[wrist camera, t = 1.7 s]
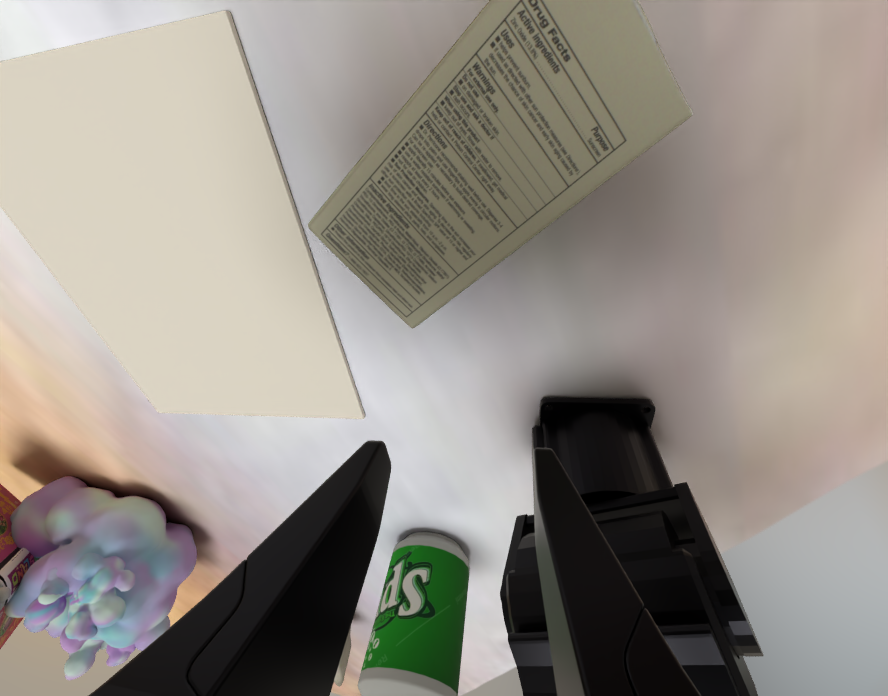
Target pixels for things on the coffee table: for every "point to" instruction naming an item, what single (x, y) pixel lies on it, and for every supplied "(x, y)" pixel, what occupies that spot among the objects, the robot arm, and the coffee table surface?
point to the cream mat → (172, 220)
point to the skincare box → (500, 146)
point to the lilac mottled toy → (90, 569)
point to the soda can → (419, 621)
